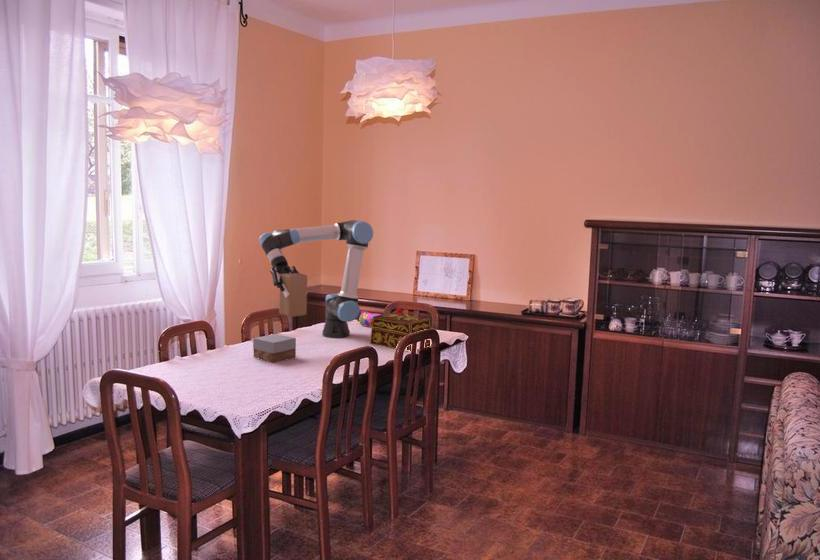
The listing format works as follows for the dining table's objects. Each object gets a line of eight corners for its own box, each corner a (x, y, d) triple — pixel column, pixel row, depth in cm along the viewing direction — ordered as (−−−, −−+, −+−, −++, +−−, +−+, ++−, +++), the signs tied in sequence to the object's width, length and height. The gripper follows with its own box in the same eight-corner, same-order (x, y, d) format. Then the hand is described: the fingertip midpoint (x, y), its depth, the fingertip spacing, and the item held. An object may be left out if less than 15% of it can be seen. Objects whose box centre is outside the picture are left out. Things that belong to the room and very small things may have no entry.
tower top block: (253, 348, 311) (253, 338, 311) (275, 343, 323) (275, 333, 322) (273, 353, 303) (273, 342, 303) (295, 348, 314) (295, 338, 314)
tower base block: (253, 358, 313) (253, 348, 312) (277, 353, 324) (277, 343, 323) (271, 363, 304) (271, 353, 303) (295, 358, 315) (295, 348, 314)
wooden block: (295, 312, 328) (296, 272, 326) (307, 315, 321) (308, 274, 319) (278, 314, 321) (279, 273, 319) (290, 317, 314) (290, 275, 312)
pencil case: (356, 326, 394) (356, 311, 393) (367, 324, 401) (367, 309, 400) (382, 331, 379) (382, 316, 378) (393, 329, 386) (393, 314, 385)
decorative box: (369, 344, 348) (369, 316, 346) (392, 338, 362) (392, 311, 360) (410, 352, 331) (410, 323, 329) (432, 346, 345) (433, 318, 343)
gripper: (292, 263, 337) (311, 297, 329) (254, 265, 320) (274, 301, 312) (299, 254, 333) (318, 288, 325) (261, 256, 316) (281, 292, 308)
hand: (297, 295), depth 318 cm, fingers closed on wooden block, 10 cm apart
